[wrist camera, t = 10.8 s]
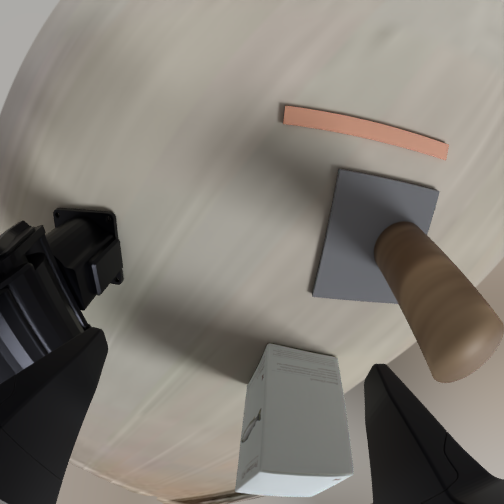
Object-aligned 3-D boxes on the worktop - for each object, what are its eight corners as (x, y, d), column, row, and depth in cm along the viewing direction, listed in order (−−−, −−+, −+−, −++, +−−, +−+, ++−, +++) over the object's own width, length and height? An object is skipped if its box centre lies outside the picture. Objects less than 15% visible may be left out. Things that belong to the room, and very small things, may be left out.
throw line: (283, 123, 17) (283, 123, 17) (285, 105, 17) (285, 105, 16) (443, 159, 17) (445, 160, 17) (446, 144, 16) (448, 144, 16)
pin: (362, 254, 20) (416, 369, 11) (400, 209, 19) (487, 302, 9) (398, 282, 21) (453, 390, 12) (434, 243, 20) (511, 336, 10)
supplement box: (266, 340, 26) (259, 471, 14) (339, 356, 26) (358, 475, 15) (244, 384, 29) (232, 492, 18) (308, 396, 29) (312, 499, 18)
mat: (312, 293, 23) (312, 296, 22) (338, 168, 18) (340, 169, 18) (399, 301, 23) (400, 304, 22) (437, 190, 18) (439, 191, 18)
